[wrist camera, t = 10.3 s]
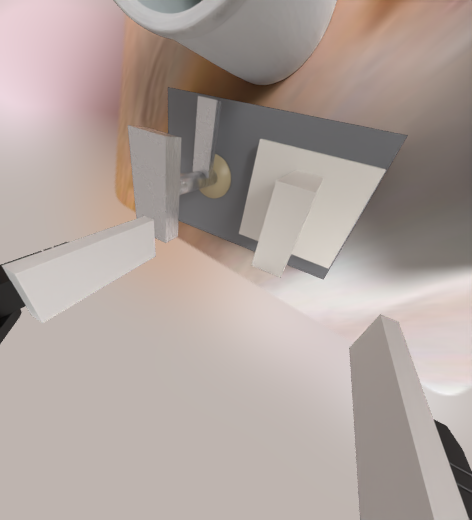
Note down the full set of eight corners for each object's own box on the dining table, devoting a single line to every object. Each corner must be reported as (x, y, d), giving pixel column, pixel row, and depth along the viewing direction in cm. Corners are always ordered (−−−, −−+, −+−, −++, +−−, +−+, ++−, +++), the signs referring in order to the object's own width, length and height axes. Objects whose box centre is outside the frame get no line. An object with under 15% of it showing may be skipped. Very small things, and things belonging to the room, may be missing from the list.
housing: (395, 137, 22) (408, 135, 18) (325, 263, 32) (323, 280, 28) (191, 95, 29) (166, 86, 25) (185, 209, 39) (167, 216, 35)
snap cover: (382, 168, 20) (415, 183, 11) (329, 261, 27) (324, 315, 18) (265, 139, 23) (221, 134, 15) (244, 229, 30) (205, 262, 21)
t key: (205, 99, 24) (122, 69, 15) (234, 106, 23) (165, 78, 14) (196, 206, 31) (137, 229, 22) (217, 214, 30) (165, 242, 21)
